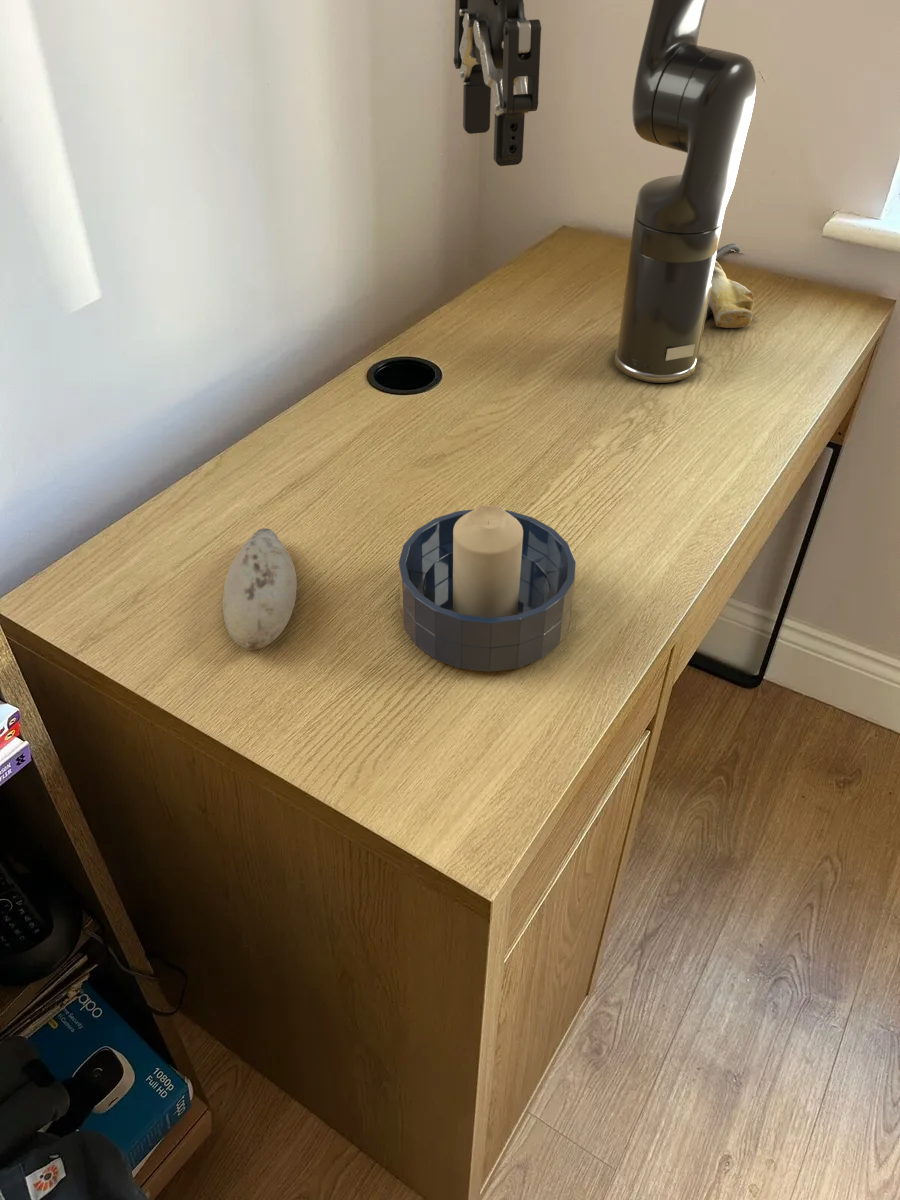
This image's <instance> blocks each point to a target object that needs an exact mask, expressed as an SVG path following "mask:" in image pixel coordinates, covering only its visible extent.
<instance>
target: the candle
mask: <svg viewBox="0 0 900 1200" xmlns="http://www.w3.org/2000/svg"><path fill="white" fill-rule="evenodd" d="M474 509H475V510H473V509H472V510H473V511H471V512H469V513H467V514H465V515H464V516H462V517H461V518H460V519H458V521H457V522H456V523H455V525H454V529H453V611H454V612H456V613H459V614H462V615H467V616H477V617H487V618H495V617H503V616H512V615H516V614H517V610H518V600H519V586H520V571H521V557H522V543H523V528H522V526H521V524H520V522H519V521H518V520H517V519H516V518H514V517H513V516H512V515H510V514H509V513H507V512H506V511H505V510H506V509H504V508H502V507H501V506H499V505H493V504H492V505H489V504H485V505H480V506H478V507H476V508H474Z"/></svg>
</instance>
